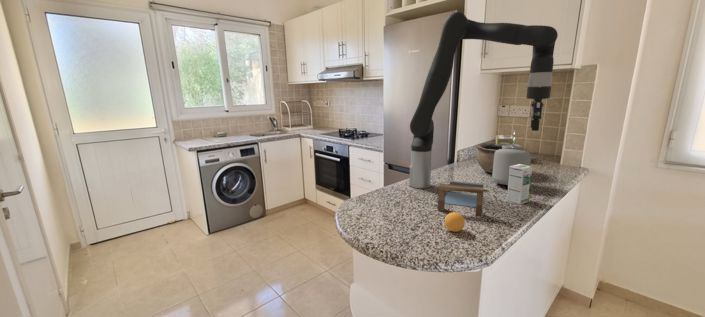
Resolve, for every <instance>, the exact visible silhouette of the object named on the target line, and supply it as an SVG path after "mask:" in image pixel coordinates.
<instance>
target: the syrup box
mask: <svg viewBox="0 0 705 317" xmlns="http://www.w3.org/2000/svg"><path fill="white" fill-rule="evenodd" d="M532 174H533V166H531V165H530V166H528V165H522V164H518V165H513V166H510V168H509V181H508V185H507V195H506V196H507V197H506V198H507V199H506V200H507V201H508V202H510V203H514V204H517V205H522V204H525V203H529V202H530V200H531V199H530V197H531V196H530V195H531V186H532V177H533V176H532Z"/></svg>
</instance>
